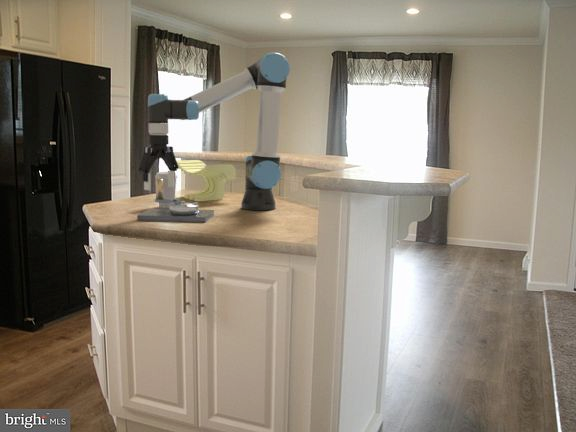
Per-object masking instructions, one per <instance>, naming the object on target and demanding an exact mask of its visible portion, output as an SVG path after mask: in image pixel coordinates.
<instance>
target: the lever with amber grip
mask: <svg viewBox="0 0 576 432" xmlns="http://www.w3.org/2000/svg"><path fill="white" fill-rule="evenodd" d="M154 202H155V203H158V204H159V203H168V204H170V208H169V209H170V213H171V214H176V215H191V214H197V213H199V210H200V209H199V201H195V202H186V201H185V200H178V199H177V198H175V199H173V200H167V199H164V191H163V179H156V178H155V199H154Z"/></svg>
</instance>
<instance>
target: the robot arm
mask: <svg viewBox="0 0 576 432" xmlns="http://www.w3.org/2000/svg"><path fill="white" fill-rule="evenodd" d="M290 68H291V67H290V63H289V60H288V59H287V58H286V57H285V55H284V54H281V53H279V52H268V53H266V54H265V55H263V56H262V57H261V58H260V59H258V60H257V61H256V62H254V63H253V64H250V65H249V66H246V67H245V68H244V71H242V72H240V73H238V74H236V75H234V76H231V77H229V78H227V79H225V80H223V81H221V82H219V83H216V84H215V85H212V86H210V87H208V88H206V89H204V90H201V91H199V92H197V93H194V94H193V95H191V96H189V97H187V98H184V99H169V97H168V94H165V93H164V94H162V93H151V94H149V95H148V97H147V116H148V117H147V120H148V121H147V122H148V123H147V124H148V133H149V135H148V144H149V145H150V147H147V146H145V147H144V148H143V155H142V157H141V160H140V164H139V167H138V170H137V171H138V172H140V173H141V174H142V181H143V190H144V191H151V189H152V185H151V184H152V182H151V181H152V180H151V173H149V172H150V171H151V169H152V167H153V165H154V164H155V162H156V160H158V159H162V161H163V162H164V164H165V165H166V167H167V169H168V170H167V172H168V187H174V178H175V174H176V172H177V171H178V168H179V167H178V164H177V161H178V160H177V159H176V156H175V153H174V147H173V146H169V135H168V134H169V120H181V121H185V120H186V121H187V120H189V121H191V120H198V119H199V117H200V113H202V112H204V111H206V110H208V109H211V108H213V107H214V106H215V107H216V105H220V104H221V103H223V102H225V101H228V100H230V99H232V98H233V97H236V96H238V95H240V94H243V93H245V92H246V91H249V90H259V92H260V94H259V106H258V120H257V132H256V143H255V144H256V146H255V151H253V153H252V154H251V155H248V156H246V157H245V162H244V165H245V185H244V186H245V191H244V194H243V196H242V197H243V198H242V199H241V203H240V206H241V209H243V210H246V211H247V210H248V211H271V210H274V209H275V210H276V205H277V204H276V201H275V200H276V199H275V196H274V193H273V188H274V187H275V186H277V185H278V183H279V182H280V180H281V176H282V171H281V168H280V163H281V156H280V154H278V140H279V139H278V138H279V131H280V130H279V128H280V118H281V117H280V114H281V103H282V94H283V92H285V90H286V89H287V88H286V87H287V80H288V77H289V75H290V70H291V69H290Z"/></svg>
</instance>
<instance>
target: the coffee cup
mask: <svg viewBox="0 0 576 432" xmlns="http://www.w3.org/2000/svg"><path fill="white" fill-rule="evenodd" d="M154 178H155V180H156V179H163V191H164V199H167V200H173V199H176V189H177V188H176V185H177V178H178V175H177V174H176V173H175V178H174V187H168V171H163V172H161V171H160V172H156V175H155V176H154ZM158 207H159V209H170V204H168V203H159V202H158Z"/></svg>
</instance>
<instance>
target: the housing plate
mask: <svg viewBox="0 0 576 432" xmlns="http://www.w3.org/2000/svg"><path fill="white" fill-rule="evenodd" d="M214 215H215V210H214V209H199V213H197V214H191V215H176V214H171V213H170V208H149V209H146V210H145V211H142V212H140V213H139V214H137V216H136V217H137V220H139V222H141V221H146V222H151V221H152V222H176V223H177V222H178V223H181V222H182V223H183V222H184V223H207V222H208V221H209V220H210V219H211V218H212V217H213V216H214ZM137 220H136V221H137Z"/></svg>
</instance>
